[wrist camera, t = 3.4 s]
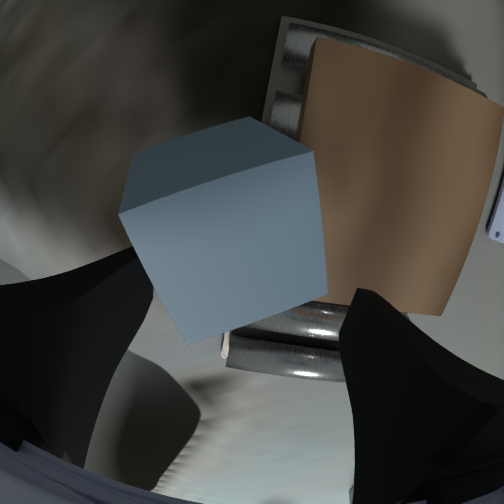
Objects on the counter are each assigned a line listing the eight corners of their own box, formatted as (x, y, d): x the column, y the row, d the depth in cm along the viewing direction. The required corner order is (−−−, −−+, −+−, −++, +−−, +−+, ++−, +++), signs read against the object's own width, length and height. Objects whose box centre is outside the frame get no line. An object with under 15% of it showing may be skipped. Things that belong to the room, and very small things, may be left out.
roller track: (472, 84, 14) (498, 83, 12) (372, 372, 24) (379, 397, 22) (281, 18, 14) (282, 1, 12) (222, 352, 24) (216, 379, 22)
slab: (478, 106, 13) (504, 108, 10) (425, 293, 18) (440, 316, 15) (310, 48, 13) (316, 36, 10) (271, 270, 18) (270, 294, 15)
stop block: (249, 116, 12) (313, 151, 8) (271, 216, 15) (327, 294, 10) (134, 153, 12) (118, 214, 7) (172, 249, 15) (186, 344, 10)
